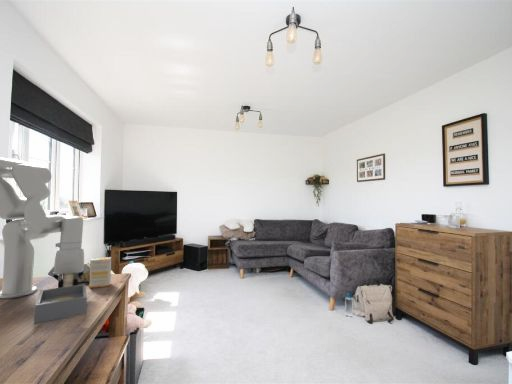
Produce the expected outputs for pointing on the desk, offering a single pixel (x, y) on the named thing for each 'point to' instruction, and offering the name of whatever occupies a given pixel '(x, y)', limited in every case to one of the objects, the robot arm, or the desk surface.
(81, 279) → the ceramic sculpture
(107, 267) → the supplement box
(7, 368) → the desk surface
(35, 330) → the desk surface
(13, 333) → the desk surface
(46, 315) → the bore box
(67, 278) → the peg
